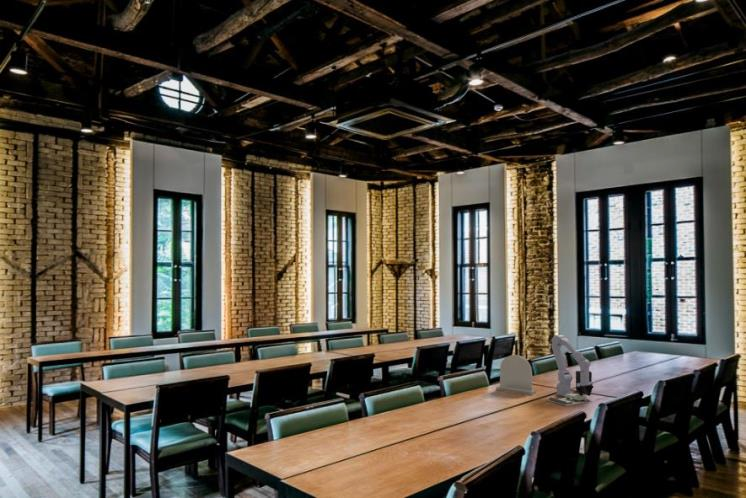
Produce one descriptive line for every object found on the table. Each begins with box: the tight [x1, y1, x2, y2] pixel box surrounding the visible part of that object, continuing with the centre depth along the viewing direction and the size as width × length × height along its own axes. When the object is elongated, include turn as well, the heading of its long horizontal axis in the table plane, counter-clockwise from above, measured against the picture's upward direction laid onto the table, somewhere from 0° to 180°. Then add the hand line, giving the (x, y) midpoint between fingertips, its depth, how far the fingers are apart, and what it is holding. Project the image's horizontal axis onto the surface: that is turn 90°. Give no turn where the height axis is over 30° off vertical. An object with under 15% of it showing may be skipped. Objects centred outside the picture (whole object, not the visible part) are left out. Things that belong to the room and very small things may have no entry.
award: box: [495, 354, 537, 396], centre depth 392 cm, size 28×9×28 cm, turn 54°
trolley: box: [564, 393, 587, 402], centre depth 364 cm, size 10×10×4 cm
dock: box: [547, 396, 588, 407], centre depth 360 cm, size 16×20×3 cm
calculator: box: [575, 370, 593, 393], centre depth 396 cm, size 11×4×15 cm, turn 84°
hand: (585, 396), depth 368 cm, fingers open, 7 cm apart
